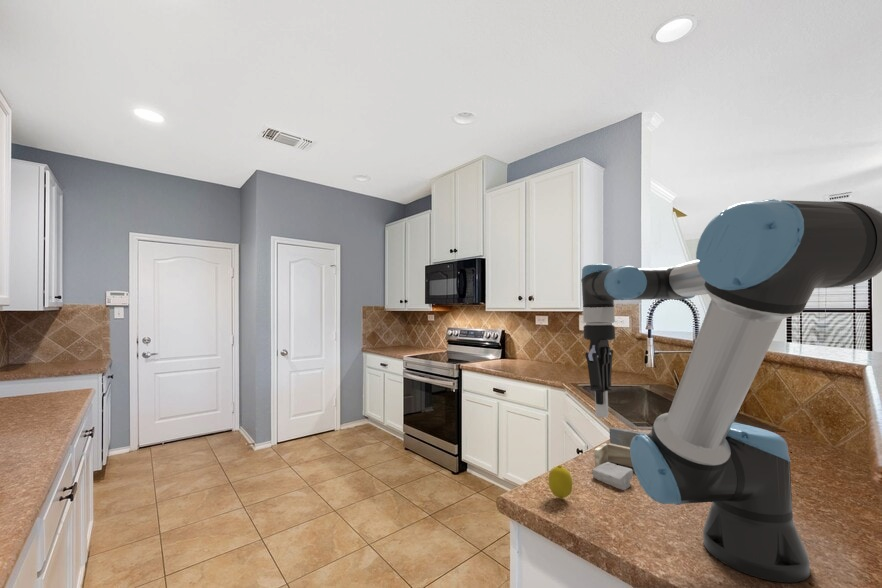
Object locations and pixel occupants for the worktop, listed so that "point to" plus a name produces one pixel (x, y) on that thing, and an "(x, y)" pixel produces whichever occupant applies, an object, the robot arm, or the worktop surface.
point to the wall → (622, 436)
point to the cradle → (612, 454)
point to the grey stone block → (613, 475)
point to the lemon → (560, 482)
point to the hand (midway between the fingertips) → (602, 416)
